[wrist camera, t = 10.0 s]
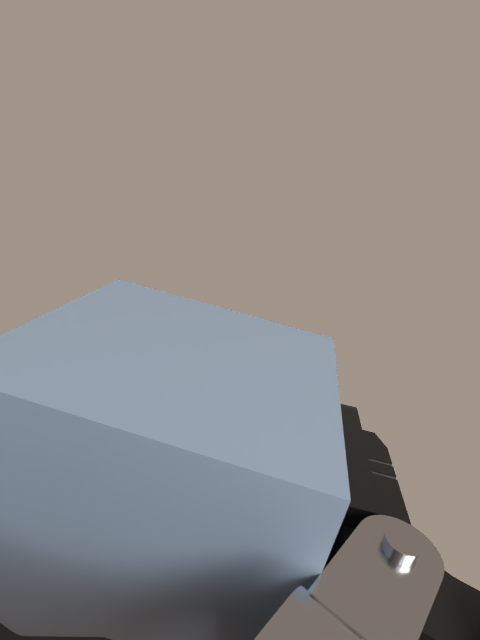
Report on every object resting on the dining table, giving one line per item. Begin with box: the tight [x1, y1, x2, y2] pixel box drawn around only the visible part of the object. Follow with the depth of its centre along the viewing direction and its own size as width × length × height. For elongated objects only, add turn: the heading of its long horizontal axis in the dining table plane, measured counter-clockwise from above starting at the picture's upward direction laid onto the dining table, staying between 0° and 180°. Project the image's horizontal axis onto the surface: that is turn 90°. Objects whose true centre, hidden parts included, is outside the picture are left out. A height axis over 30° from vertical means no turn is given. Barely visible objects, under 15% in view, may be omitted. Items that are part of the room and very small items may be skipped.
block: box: [0, 279, 351, 640], centre depth 9 cm, size 6×6×10 cm
